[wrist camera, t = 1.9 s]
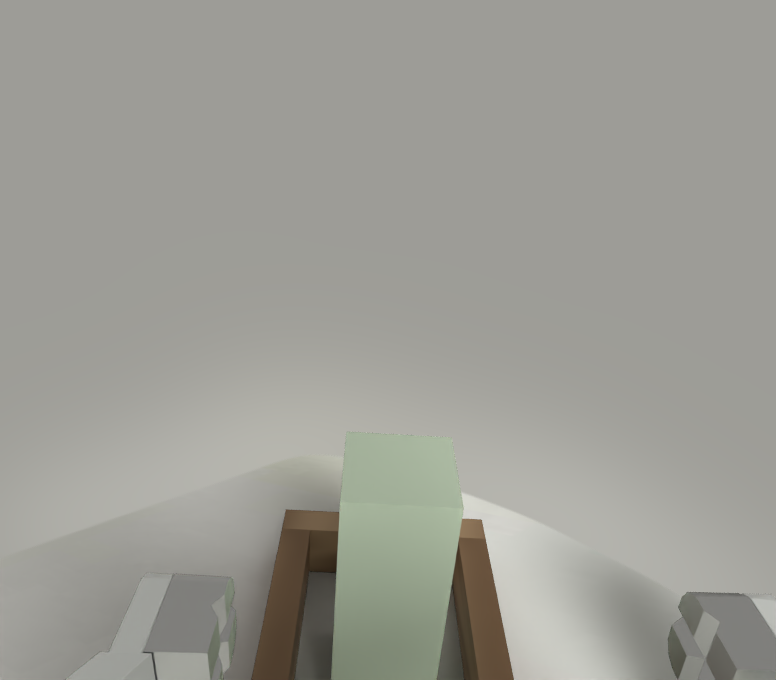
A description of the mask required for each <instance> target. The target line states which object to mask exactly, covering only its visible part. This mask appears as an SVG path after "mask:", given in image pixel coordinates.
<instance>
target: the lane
mask: <svg viewBox="0 0 776 680" xmlns="http://www.w3.org/2000/svg"><path fill="white" fill-rule="evenodd" d="M338 532H339V512H323V511H304V510H286V512H285V517H284V522H283V527H282V532H281V537H280V542H279V547H278V552H277V557H276V561H275V566H274V571H273V576H272V581H271V586H270V591H269V596H268V601H267V606H266V611H265V616H264V621H263V626H262V630H261V635H260V640H259V645H258V650H257V655H256V660H255V665H254V670H253V675H252V680H294V678H295V671H296V664H297V656H298V649H299V642H300V634H301V627H302V620H303V613H304V605H305V598H306V591H307V583H308V576H309V571H315V572H337V552H338ZM452 585H453V593H454V601H455V609H456V617H457V625H458V633H459V641H460V649H461V657H462V665H463V673H464V680H514V678H513V673H512V668H511V663H510V658H509V653H508V648H507V643H506V638H505V633H504V628H503V623H502V618H501V613H500V609H499V604H498V599H497V594H496V589H495V584H494V579H493V574H492V569H491V564H490V559H489V554H488V549H487V544H486V539H485V534H484V529H483V524H482V520H477V519H462V522H461V529H460V535H459V541H458V548H457V554H456V560H455V567H454V573H453V579H452Z"/></svg>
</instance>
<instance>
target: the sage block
mask: <svg viewBox="0 0 776 680" xmlns="http://www.w3.org/2000/svg"><path fill="white" fill-rule="evenodd" d="M463 509H464V508H463V502H462V496H461V490H460V484H459V478H458V472H457V466H456V461H455V454H454V449H453V442H452V438H450V437H432V436H414V435H397V434H379V433H361V432H347V433H346V442H345V453H344V464H343V475H342V486H341V497H340V512H339V532H338V552H337V572H336V592H335V612H334V632H333V652H332V672H331V680H437V674H438V668H439V662H440V655H441V649H442V643H443V636H444V630H445V624H446V617H447V611H448V605H449V598H450V592H451V586H452V579H453V573H454V567H455V560H456V554H457V548H458V541H459V535H460V529H461V522H462V516H463Z"/></svg>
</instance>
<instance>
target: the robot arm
mask: <svg viewBox="0 0 776 680" xmlns="http://www.w3.org/2000/svg"><path fill="white" fill-rule="evenodd" d="M234 593H235V592H234V582H233V578H231V577H221V576H204V575H187V574H162V573H146V575H145V576H144V577H143V578H142V579H141V580H140V583H139V585H138V587H137V589H136V592H135V594H134V596H133V598H132V601H131V603H130V605H129V607H128V609H127V612H126V614H125V616H124V618H123V621H122V623H121V625H120V627H119V630H118V632H117V634H116V636H115V639H114V641H113V643H112V645H111V648H110V650H109V652H99V653H98V654H96V655H95V656H94V657H93V658H91V659H90V660H89V661H88V662H86V663H85V664H84V665H83V666H81V667H80V668H79V669H78V670H76V671H75V672H74V673H73V674H71V675H70V676H69V677H68V678H66V679H65V680H223V673H224V672H226V671H227V670H228V669H229V668H230V665H231V660H232V656H233V651H234V644H235V637H236V610H235V609H234V608H233V607H232V606H231V604H232V600H233V596H234ZM678 608H679V610H680V612H681V614H682V616H683V617H682V618H680V619H679V620H678V621H677V622H675V623H674V624H673V625H672V627H671V630H670V634H669V637H668V650H669V658H670V661H671V665H672V668H673V671H674V673H675V675H676V677H677V680H776V598H775V597H774V596H772V595H771V594H739V593H704V592H687V593H686V594H685V595H684V596H682V598H681V601H680V604H679V606H678Z"/></svg>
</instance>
